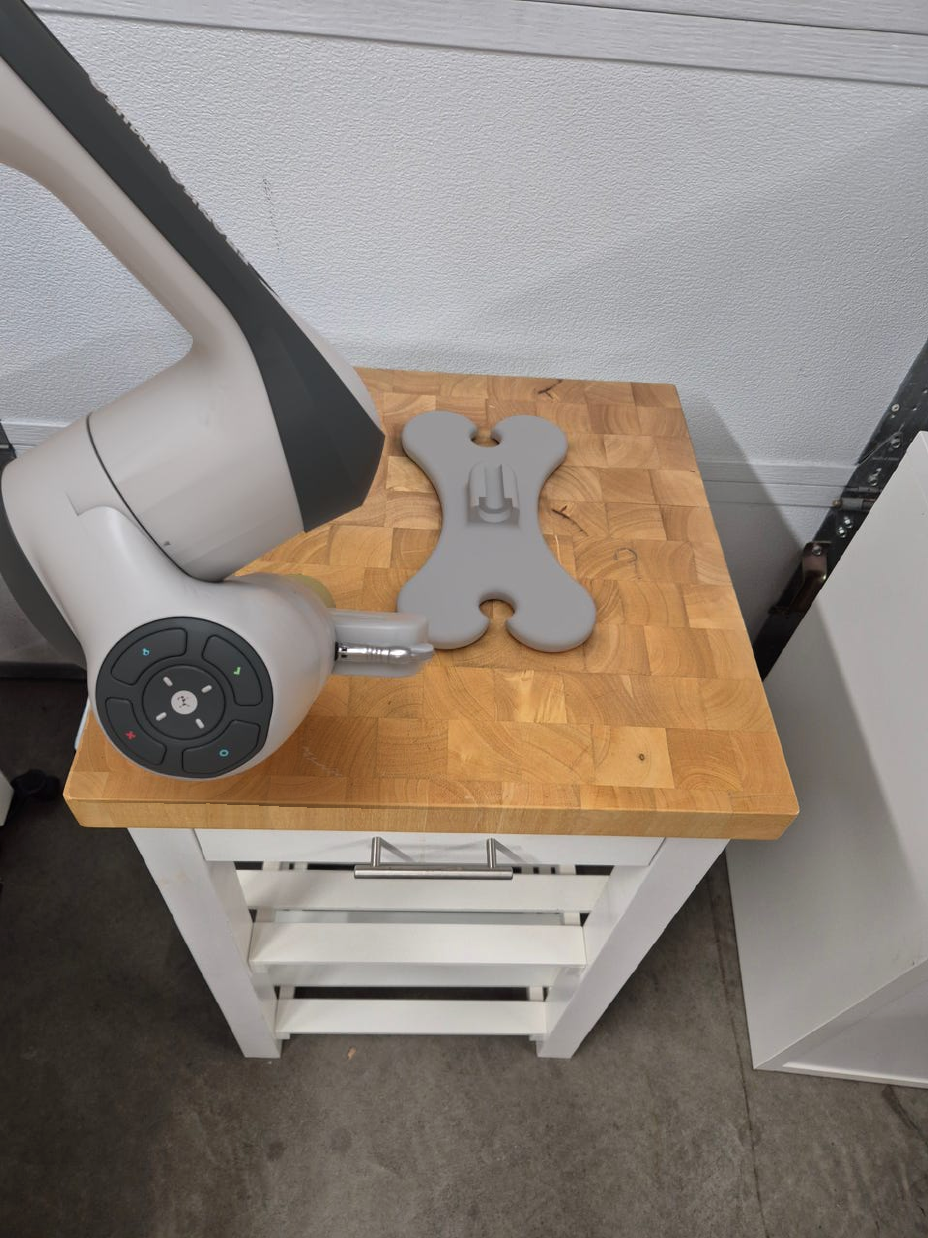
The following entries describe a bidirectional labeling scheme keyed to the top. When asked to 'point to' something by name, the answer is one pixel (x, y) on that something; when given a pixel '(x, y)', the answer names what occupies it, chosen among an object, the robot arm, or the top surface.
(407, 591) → the holder
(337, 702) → the top surface
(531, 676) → the top surface
